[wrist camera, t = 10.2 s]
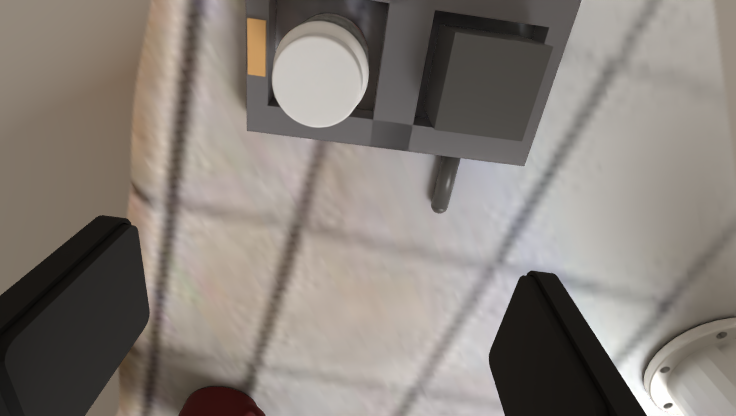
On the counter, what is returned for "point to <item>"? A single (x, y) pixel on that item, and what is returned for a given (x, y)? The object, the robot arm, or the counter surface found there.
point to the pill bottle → (321, 70)
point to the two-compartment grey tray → (434, 83)
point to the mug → (220, 403)
